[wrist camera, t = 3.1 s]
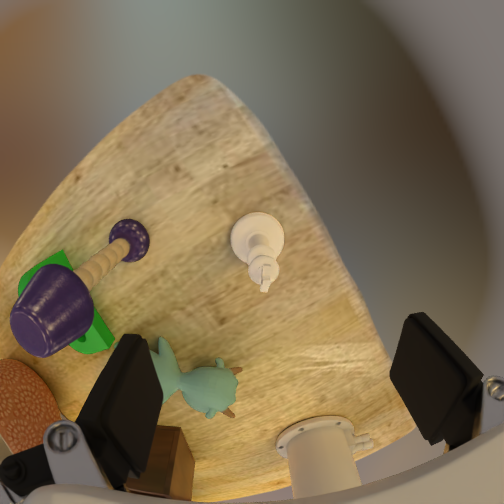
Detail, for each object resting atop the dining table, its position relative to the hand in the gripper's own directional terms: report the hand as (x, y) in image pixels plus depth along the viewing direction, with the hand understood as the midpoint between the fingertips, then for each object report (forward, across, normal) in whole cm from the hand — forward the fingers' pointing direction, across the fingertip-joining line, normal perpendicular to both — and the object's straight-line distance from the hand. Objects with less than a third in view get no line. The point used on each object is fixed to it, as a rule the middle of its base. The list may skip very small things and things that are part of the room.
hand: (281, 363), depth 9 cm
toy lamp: (+18, +12, 0) cm, 21 cm away
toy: (+17, +10, +15) cm, 25 cm away
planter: (+16, +38, +25) cm, 48 cm away
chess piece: (+18, 0, 0) cm, 18 cm away
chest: (+17, +18, +34) cm, 42 cm away
